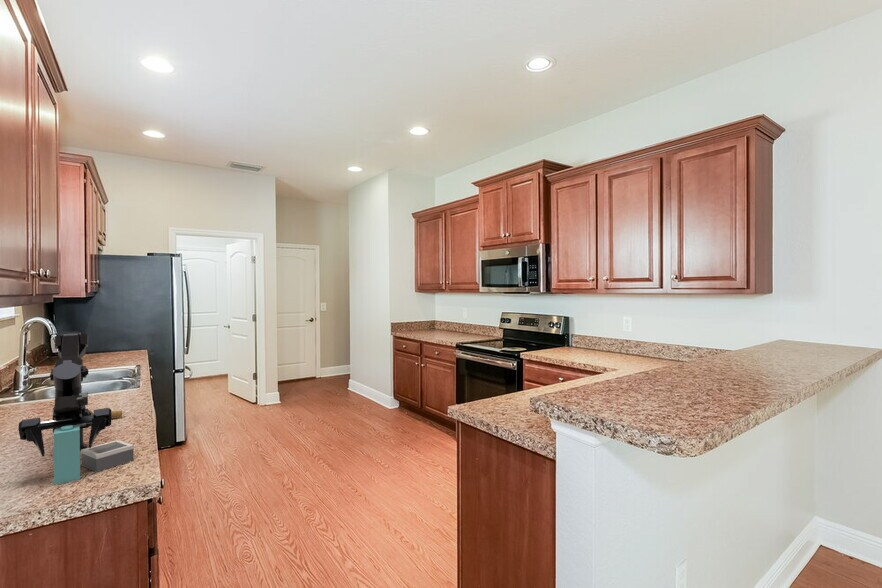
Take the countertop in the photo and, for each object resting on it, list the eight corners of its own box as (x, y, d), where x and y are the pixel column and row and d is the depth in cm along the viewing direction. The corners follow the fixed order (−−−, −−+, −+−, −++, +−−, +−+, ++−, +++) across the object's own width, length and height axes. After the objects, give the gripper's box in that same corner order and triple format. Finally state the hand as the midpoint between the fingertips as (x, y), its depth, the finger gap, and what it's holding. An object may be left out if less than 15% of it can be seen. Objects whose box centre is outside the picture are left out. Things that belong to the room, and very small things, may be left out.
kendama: (118, 419, 171) (58, 422, 158) (121, 403, 170) (61, 406, 158) (121, 426, 165) (59, 431, 152) (124, 410, 165) (62, 414, 152)
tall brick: (55, 478, 112) (54, 426, 112) (80, 473, 115) (79, 422, 115) (54, 485, 108) (53, 430, 108) (79, 479, 112) (79, 426, 111)
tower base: (81, 465, 121) (81, 449, 121) (118, 454, 128) (118, 439, 128) (96, 472, 116) (96, 455, 116) (133, 460, 124) (133, 445, 124)
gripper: (18, 389, 110) (13, 443, 101) (110, 379, 122) (112, 427, 113) (23, 413, 116) (18, 466, 107) (110, 401, 128) (112, 448, 119)
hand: (67, 451), depth 111 cm, fingers open, 9 cm apart
